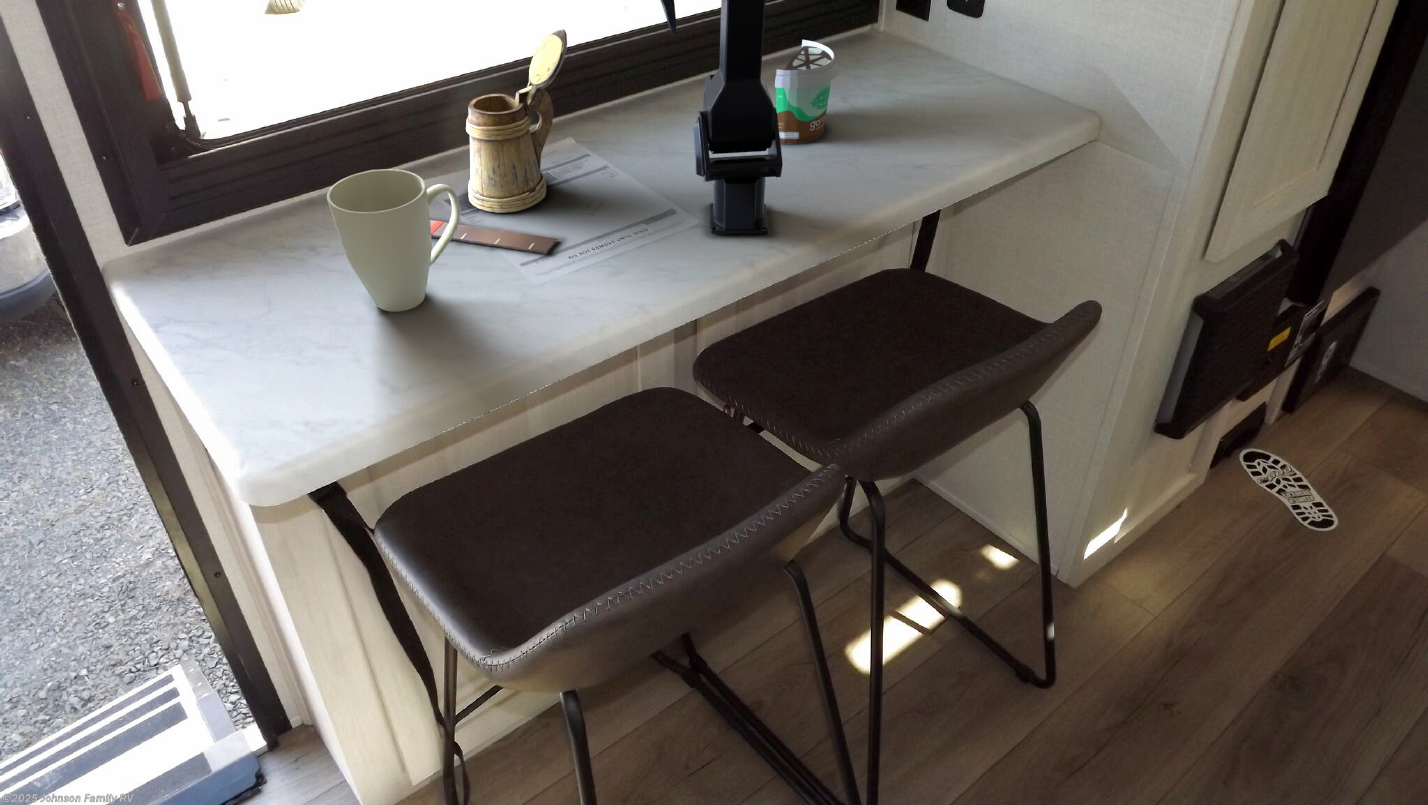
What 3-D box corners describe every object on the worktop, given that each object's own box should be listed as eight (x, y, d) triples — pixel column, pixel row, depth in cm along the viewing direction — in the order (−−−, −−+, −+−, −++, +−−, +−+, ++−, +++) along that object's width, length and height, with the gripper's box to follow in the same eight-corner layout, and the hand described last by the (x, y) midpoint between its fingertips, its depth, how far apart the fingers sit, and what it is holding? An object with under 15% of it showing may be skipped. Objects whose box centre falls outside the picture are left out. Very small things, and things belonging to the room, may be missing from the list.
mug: (434, 329, 100) (412, 218, 92) (338, 318, 101) (309, 208, 94) (474, 270, 108) (457, 165, 101) (385, 261, 110) (361, 156, 102)
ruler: (557, 240, 113) (556, 238, 113) (546, 254, 111) (546, 251, 111) (392, 216, 117) (392, 214, 117) (379, 229, 115) (378, 226, 115)
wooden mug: (593, 193, 122) (582, 41, 111) (483, 220, 117) (460, 63, 106) (564, 164, 128) (551, 17, 117) (458, 188, 123) (434, 36, 112)
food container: (818, 155, 130) (823, 77, 124) (771, 147, 132) (775, 70, 126) (843, 117, 139) (849, 43, 133) (799, 111, 141) (803, 37, 135)
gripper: (770, -126, 125) (766, 6, 134) (618, -119, 121) (624, 16, 131) (797, -106, 116) (790, 34, 126) (633, -98, 113) (639, 45, 122)
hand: (710, 31), depth 126 cm, fingers open, 9 cm apart
